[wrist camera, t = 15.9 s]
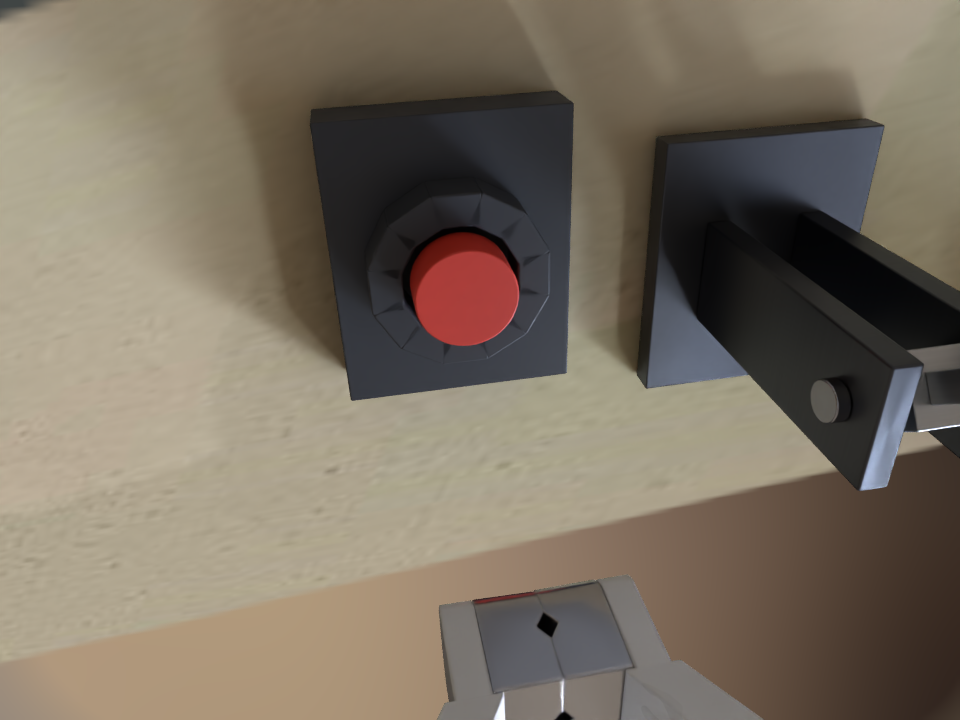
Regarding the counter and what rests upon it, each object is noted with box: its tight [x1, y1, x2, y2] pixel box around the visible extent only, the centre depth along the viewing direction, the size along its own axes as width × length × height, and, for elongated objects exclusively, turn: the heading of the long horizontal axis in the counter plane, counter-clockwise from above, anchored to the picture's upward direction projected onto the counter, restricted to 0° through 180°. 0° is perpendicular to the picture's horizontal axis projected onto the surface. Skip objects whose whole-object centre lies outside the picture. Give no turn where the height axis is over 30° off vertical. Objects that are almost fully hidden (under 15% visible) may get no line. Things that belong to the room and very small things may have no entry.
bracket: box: [637, 119, 960, 491], centre depth 27 cm, size 11×9×13 cm
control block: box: [310, 91, 574, 401], centre depth 28 cm, size 11×9×4 cm
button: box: [410, 232, 519, 346], centre depth 26 cm, size 4×4×2 cm
